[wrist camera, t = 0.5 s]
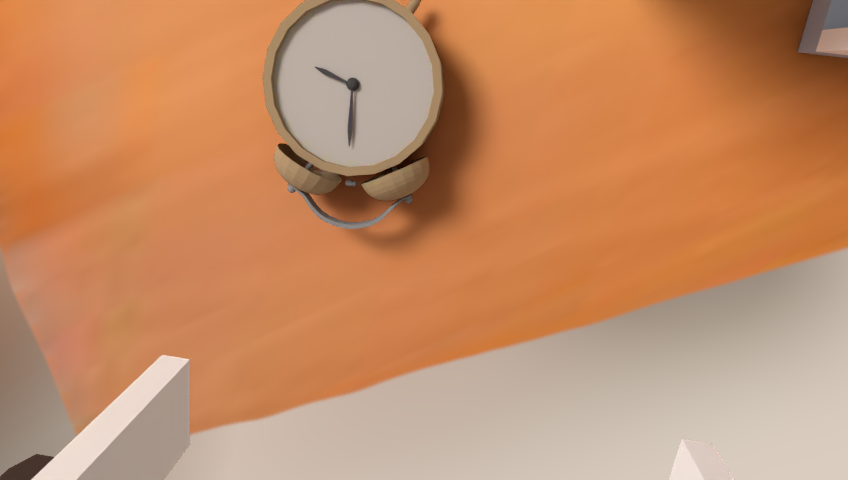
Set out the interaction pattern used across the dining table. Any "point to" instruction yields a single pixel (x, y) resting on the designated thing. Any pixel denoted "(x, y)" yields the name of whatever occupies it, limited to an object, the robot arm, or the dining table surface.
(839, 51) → the dock
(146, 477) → the robot arm
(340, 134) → the alarm clock
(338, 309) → the dining table surface
